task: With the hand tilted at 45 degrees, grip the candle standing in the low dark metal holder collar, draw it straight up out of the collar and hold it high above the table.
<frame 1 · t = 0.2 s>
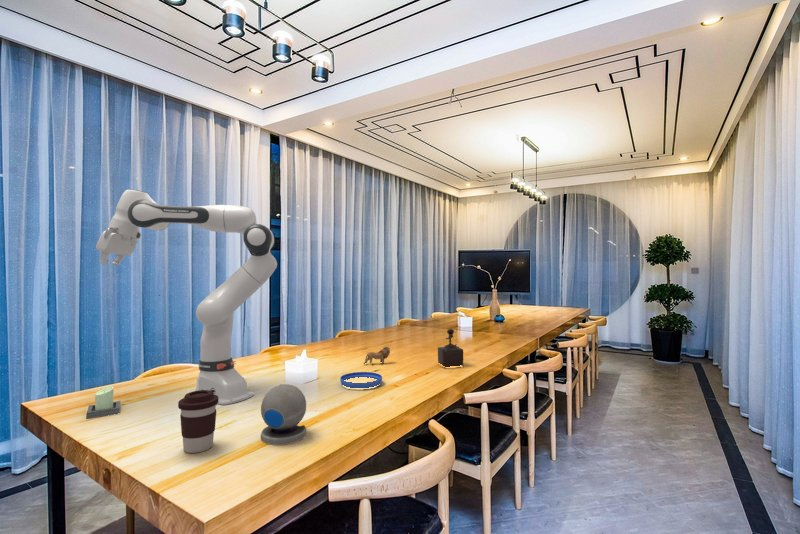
hand: (109, 264, 149), 51 cm above the table, tool tilted 20°, fingers open, 8 cm apart
coffee cup: (198, 448, 110), on the table
lion figurine: (377, 364, 210), on the table
black block with stem: (449, 365, 208), on the table
blue ring: (361, 385, 172), on the table
holder collar: (104, 412, 137), on the table
candle: (104, 413, 137), resting in holder collar
webcam: (283, 436, 118), on the table
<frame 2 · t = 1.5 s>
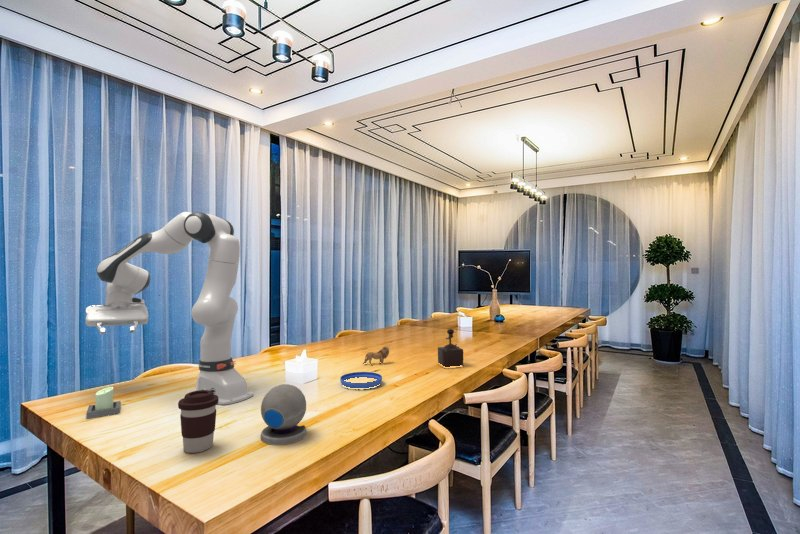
hand: (117, 332, 152), 25 cm above the table, tool tilted 45°, fingers open, 8 cm apart
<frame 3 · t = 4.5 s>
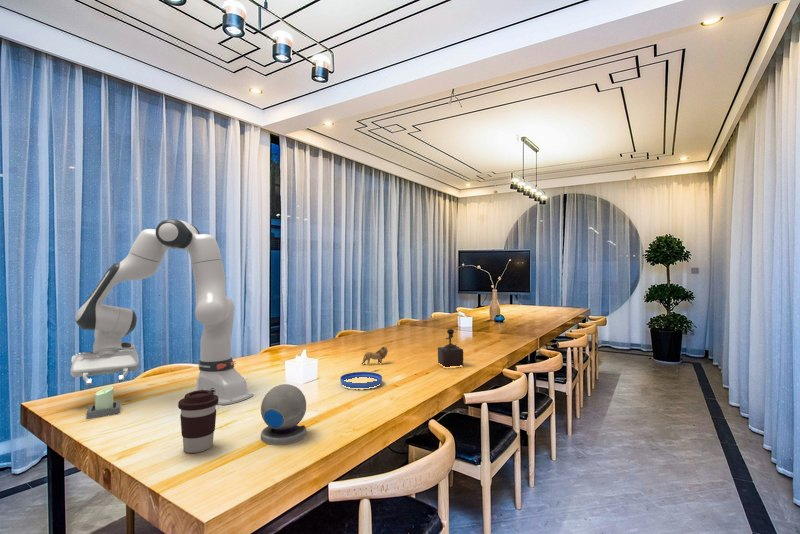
hand: (105, 382, 142), 9 cm above the table, tool tilted 45°, fingers open, 8 cm apart
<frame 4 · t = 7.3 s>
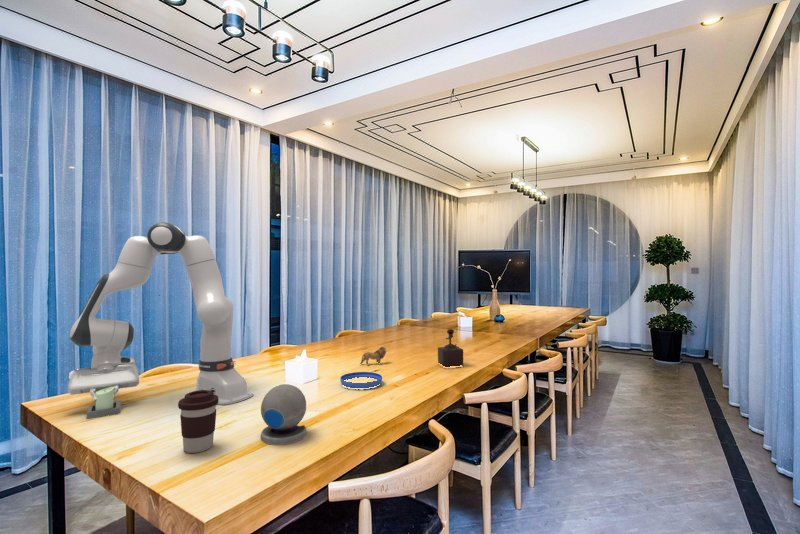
hand: (104, 400, 137), 4 cm above the table, tool tilted 45°, fingers closed on candle, 3 cm apart
candle: (104, 412, 137), resting in holder collar, touching gripper
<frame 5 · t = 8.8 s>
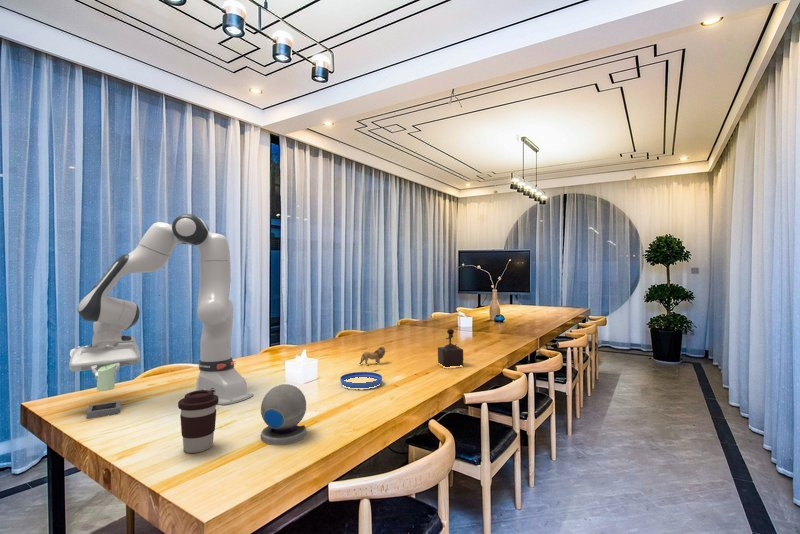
hand: (105, 376, 137), 12 cm above the table, tool tilted 45°, fingers closed on candle, 3 cm apart
candle: (105, 389, 137), point 8 cm above the table, touching gripper
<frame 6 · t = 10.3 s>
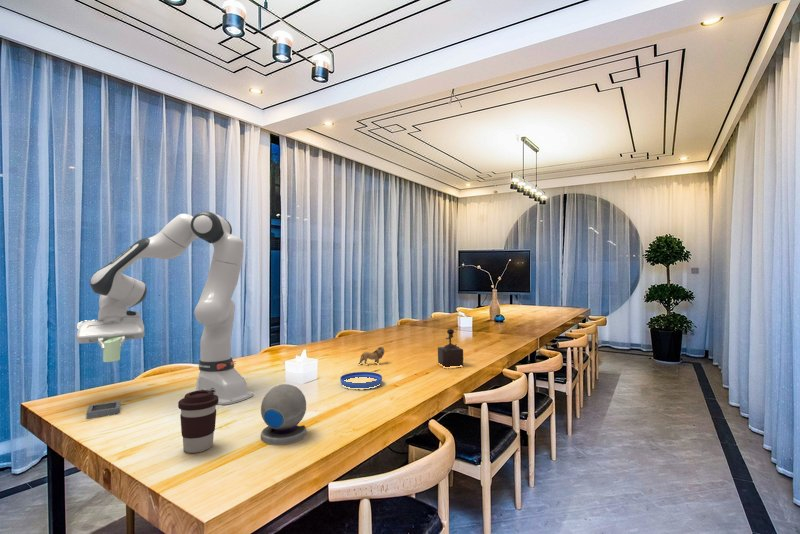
hand: (111, 348, 142), 21 cm above the table, tool tilted 45°, fingers closed on candle, 3 cm apart
candle: (111, 361, 142), point 16 cm above the table, touching gripper
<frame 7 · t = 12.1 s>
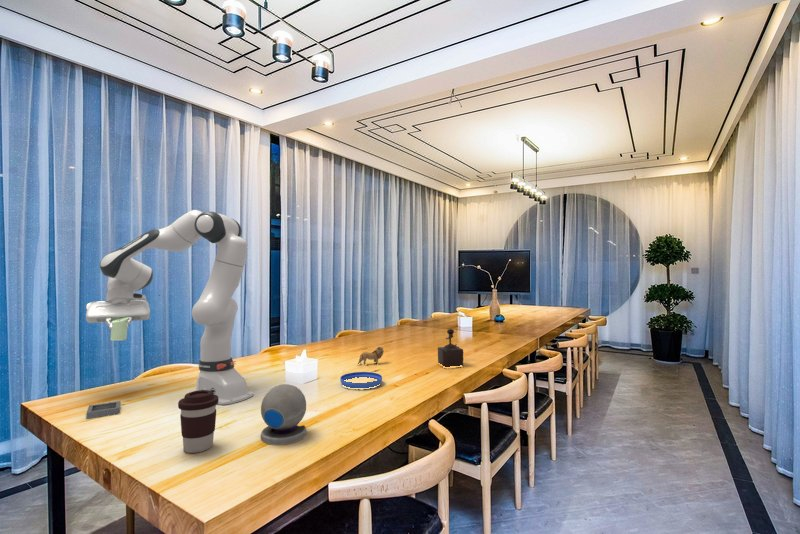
hand: (118, 328, 149), 27 cm above the table, tool tilted 45°, fingers closed on candle, 3 cm apart
candle: (118, 340, 149), point 23 cm above the table, touching gripper
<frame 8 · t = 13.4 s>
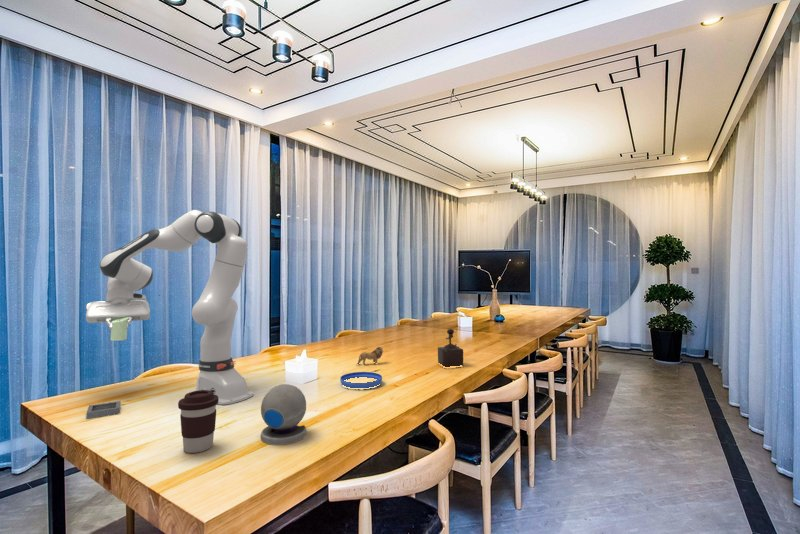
hand: (118, 328, 149), 27 cm above the table, tool tilted 45°, fingers closed on candle, 3 cm apart
candle: (118, 340, 149), point 23 cm above the table, touching gripper
at the end: the gripper is holding candle; candle point 22.8 cm above the table; candle moved 26.1 cm from its start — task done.
